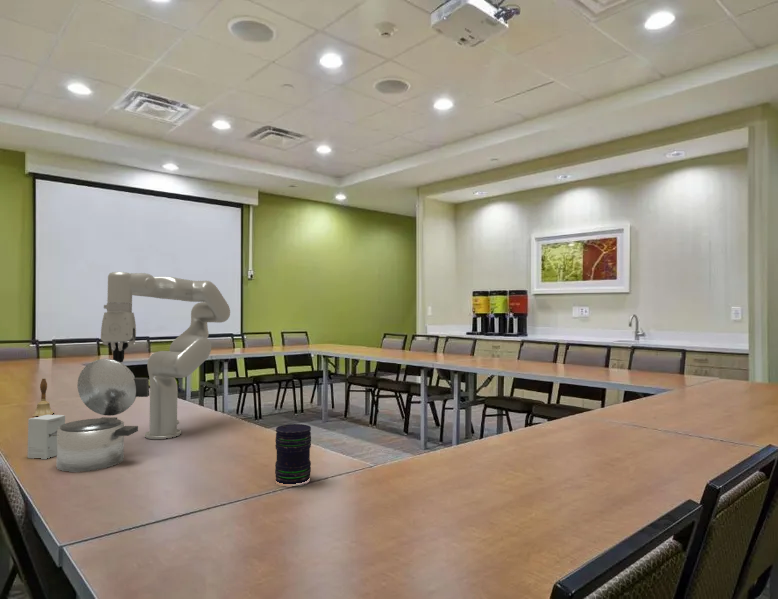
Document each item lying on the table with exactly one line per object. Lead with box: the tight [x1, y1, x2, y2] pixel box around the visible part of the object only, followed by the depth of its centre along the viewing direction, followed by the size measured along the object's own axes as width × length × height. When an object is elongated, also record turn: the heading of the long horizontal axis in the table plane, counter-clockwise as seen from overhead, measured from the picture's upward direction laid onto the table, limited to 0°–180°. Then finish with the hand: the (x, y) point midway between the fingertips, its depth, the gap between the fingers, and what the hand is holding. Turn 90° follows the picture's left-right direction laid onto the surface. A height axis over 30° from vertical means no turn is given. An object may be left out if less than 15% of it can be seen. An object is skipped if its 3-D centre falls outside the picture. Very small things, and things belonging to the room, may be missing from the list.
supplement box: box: [27, 414, 66, 460], centre depth 168 cm, size 7×7×13 cm
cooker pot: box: [55, 416, 139, 473], centre depth 161 cm, size 19×22×12 cm
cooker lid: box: [76, 358, 150, 417], centre depth 171 cm, size 19×22×4 cm
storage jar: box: [274, 423, 312, 484], centre depth 145 cm, size 10×10×15 cm
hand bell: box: [32, 378, 55, 417], centre depth 229 cm, size 8×8×16 cm
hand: (118, 362), depth 177 cm, fingers closed
